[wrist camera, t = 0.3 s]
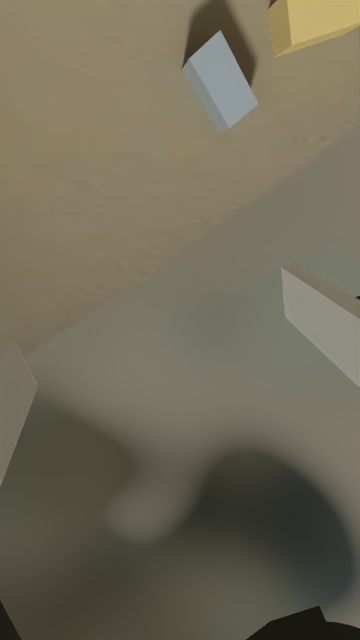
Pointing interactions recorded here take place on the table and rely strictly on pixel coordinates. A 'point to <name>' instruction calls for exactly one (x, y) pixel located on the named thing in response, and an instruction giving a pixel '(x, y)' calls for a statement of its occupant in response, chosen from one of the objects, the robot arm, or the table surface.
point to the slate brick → (219, 83)
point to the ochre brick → (310, 22)
